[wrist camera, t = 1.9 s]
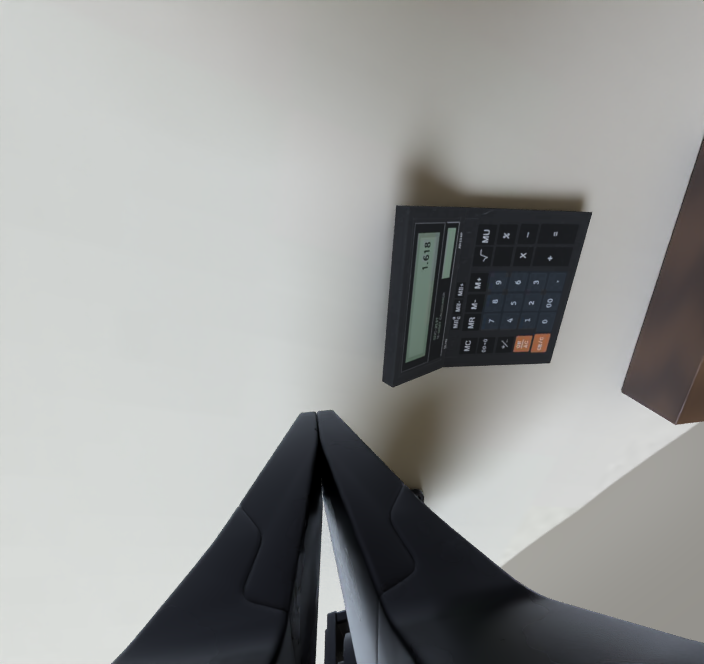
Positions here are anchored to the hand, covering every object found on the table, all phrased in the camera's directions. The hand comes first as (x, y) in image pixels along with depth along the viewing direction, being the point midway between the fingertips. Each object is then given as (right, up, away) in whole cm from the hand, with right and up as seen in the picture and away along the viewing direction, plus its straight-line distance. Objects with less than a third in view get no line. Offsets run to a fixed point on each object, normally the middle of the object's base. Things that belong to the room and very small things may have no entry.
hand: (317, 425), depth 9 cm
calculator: (+8, +5, +12) cm, 15 cm away
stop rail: (+22, +6, +14) cm, 27 cm away
